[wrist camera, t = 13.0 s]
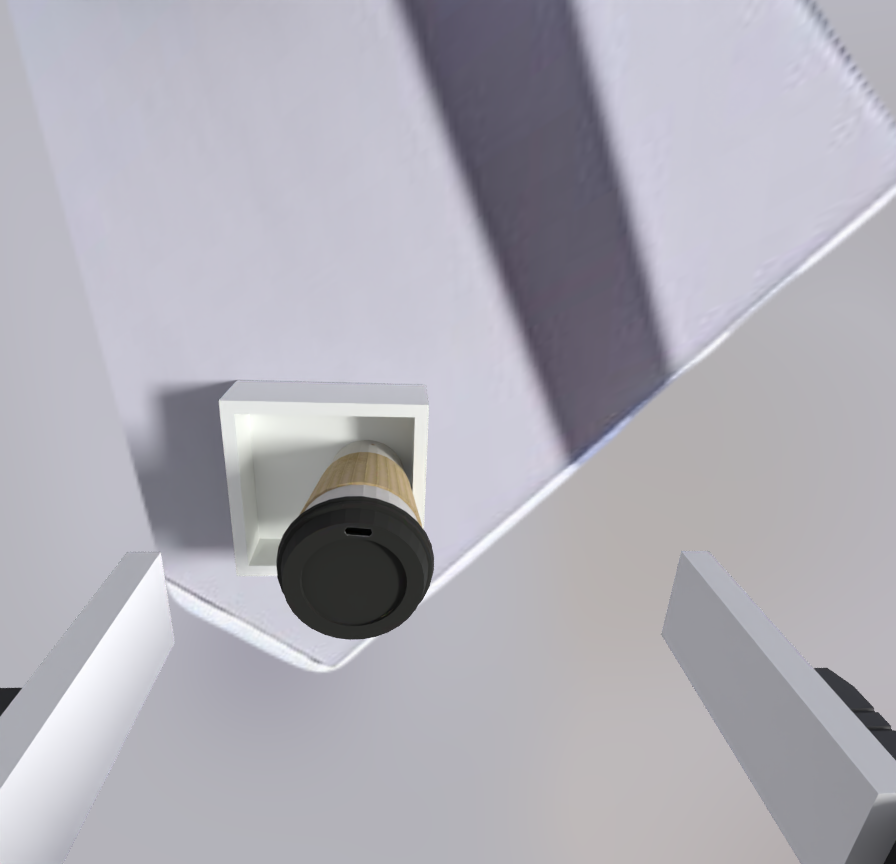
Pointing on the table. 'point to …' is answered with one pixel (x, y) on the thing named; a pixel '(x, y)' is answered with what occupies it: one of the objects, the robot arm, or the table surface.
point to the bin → (307, 450)
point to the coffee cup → (357, 547)
